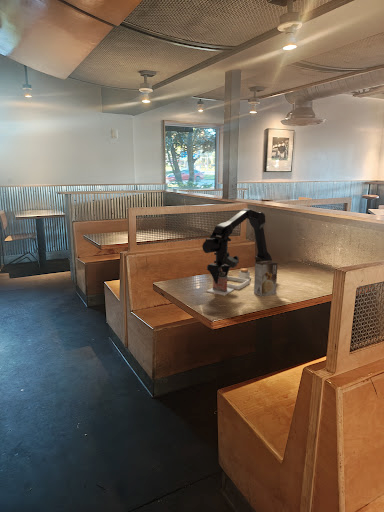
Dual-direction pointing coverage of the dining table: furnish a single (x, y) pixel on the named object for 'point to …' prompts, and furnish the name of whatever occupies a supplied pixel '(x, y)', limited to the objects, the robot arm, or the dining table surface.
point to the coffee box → (265, 278)
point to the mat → (220, 291)
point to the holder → (239, 280)
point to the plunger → (244, 270)
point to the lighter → (221, 282)
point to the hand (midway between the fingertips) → (220, 281)
